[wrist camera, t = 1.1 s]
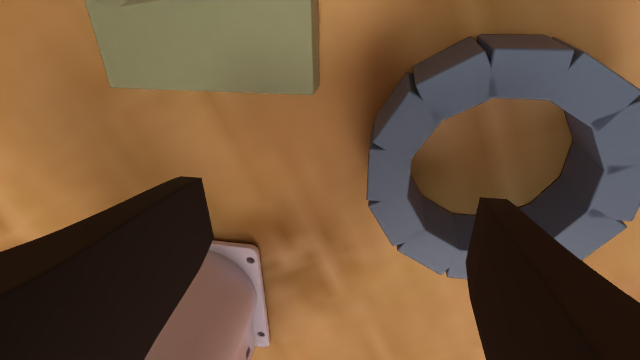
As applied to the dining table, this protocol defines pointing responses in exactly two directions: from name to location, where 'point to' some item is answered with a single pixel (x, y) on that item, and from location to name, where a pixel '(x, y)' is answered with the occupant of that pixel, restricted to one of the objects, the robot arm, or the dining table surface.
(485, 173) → the dining table surface
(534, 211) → the ring
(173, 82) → the post
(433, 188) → the dining table surface
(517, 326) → the robot arm
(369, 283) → the dining table surface
